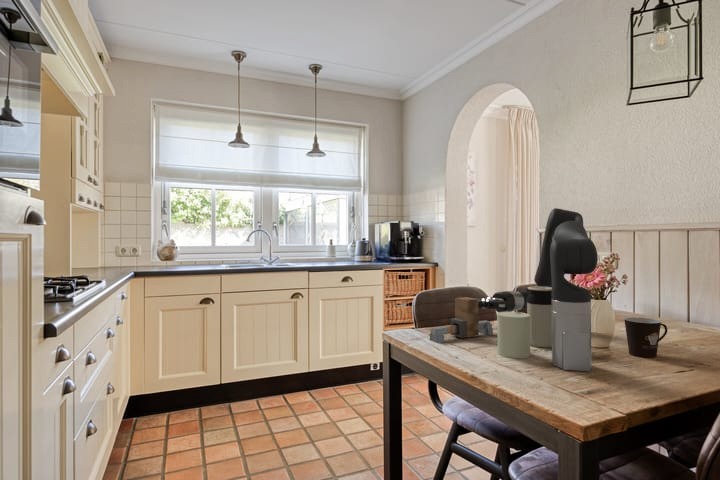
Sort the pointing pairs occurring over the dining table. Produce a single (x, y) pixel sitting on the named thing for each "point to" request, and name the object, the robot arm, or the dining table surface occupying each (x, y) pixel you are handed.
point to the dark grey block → (460, 327)
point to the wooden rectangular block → (468, 314)
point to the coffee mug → (643, 336)
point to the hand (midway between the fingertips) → (472, 305)
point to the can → (513, 334)
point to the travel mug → (540, 316)
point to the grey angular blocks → (440, 334)
